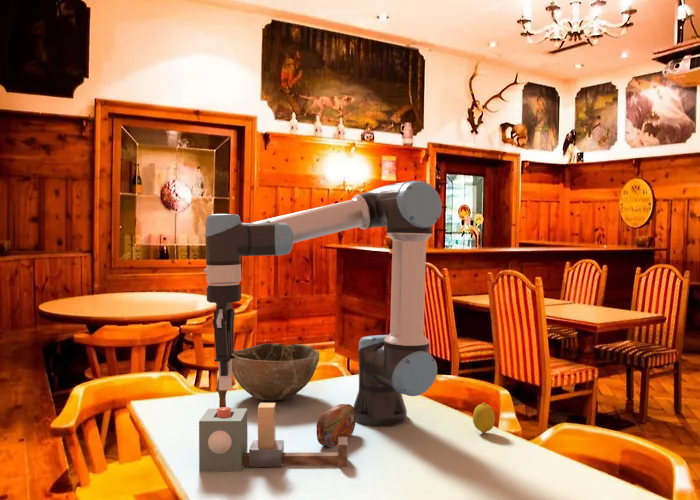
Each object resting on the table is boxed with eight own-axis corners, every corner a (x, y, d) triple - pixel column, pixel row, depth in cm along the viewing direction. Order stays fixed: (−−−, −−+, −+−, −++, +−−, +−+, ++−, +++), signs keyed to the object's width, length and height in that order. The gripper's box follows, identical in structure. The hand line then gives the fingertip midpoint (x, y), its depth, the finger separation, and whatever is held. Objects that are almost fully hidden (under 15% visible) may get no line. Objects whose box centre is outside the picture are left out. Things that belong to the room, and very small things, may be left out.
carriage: (283, 456, 135) (283, 401, 134) (281, 467, 129) (281, 409, 128) (253, 456, 135) (253, 401, 134) (249, 467, 129) (249, 409, 128)
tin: (324, 452, 139) (325, 416, 139) (313, 449, 140) (313, 414, 140) (356, 433, 152) (357, 401, 151) (346, 431, 153) (346, 399, 153)
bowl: (329, 390, 193) (329, 344, 192) (305, 415, 166) (305, 362, 166) (250, 384, 199) (250, 340, 198) (215, 407, 173) (214, 357, 172)
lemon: (496, 431, 153) (496, 401, 153) (492, 438, 148) (492, 407, 148) (475, 428, 155) (475, 398, 155) (470, 435, 150) (470, 404, 150)
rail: (346, 458, 135) (347, 437, 134) (347, 467, 130) (347, 444, 129) (246, 458, 134) (246, 437, 134) (242, 467, 129) (242, 445, 129)
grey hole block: (247, 455, 136) (247, 408, 136) (240, 472, 127) (240, 421, 126) (208, 455, 136) (208, 408, 136) (198, 472, 127) (198, 421, 126)
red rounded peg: (232, 442, 133) (232, 407, 133) (229, 446, 130) (229, 411, 130) (218, 442, 133) (218, 407, 133) (216, 446, 130) (215, 411, 130)
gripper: (213, 281, 137) (214, 381, 138) (199, 286, 124) (201, 397, 125) (245, 280, 137) (247, 381, 138) (235, 286, 124) (237, 397, 125)
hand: (225, 389), depth 131 cm, fingers closed
